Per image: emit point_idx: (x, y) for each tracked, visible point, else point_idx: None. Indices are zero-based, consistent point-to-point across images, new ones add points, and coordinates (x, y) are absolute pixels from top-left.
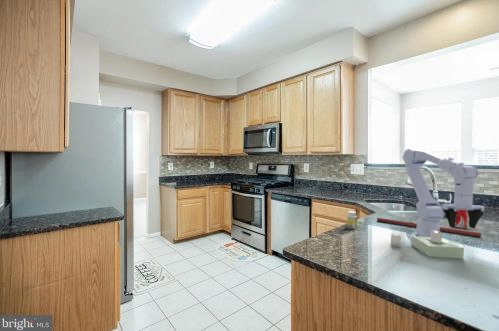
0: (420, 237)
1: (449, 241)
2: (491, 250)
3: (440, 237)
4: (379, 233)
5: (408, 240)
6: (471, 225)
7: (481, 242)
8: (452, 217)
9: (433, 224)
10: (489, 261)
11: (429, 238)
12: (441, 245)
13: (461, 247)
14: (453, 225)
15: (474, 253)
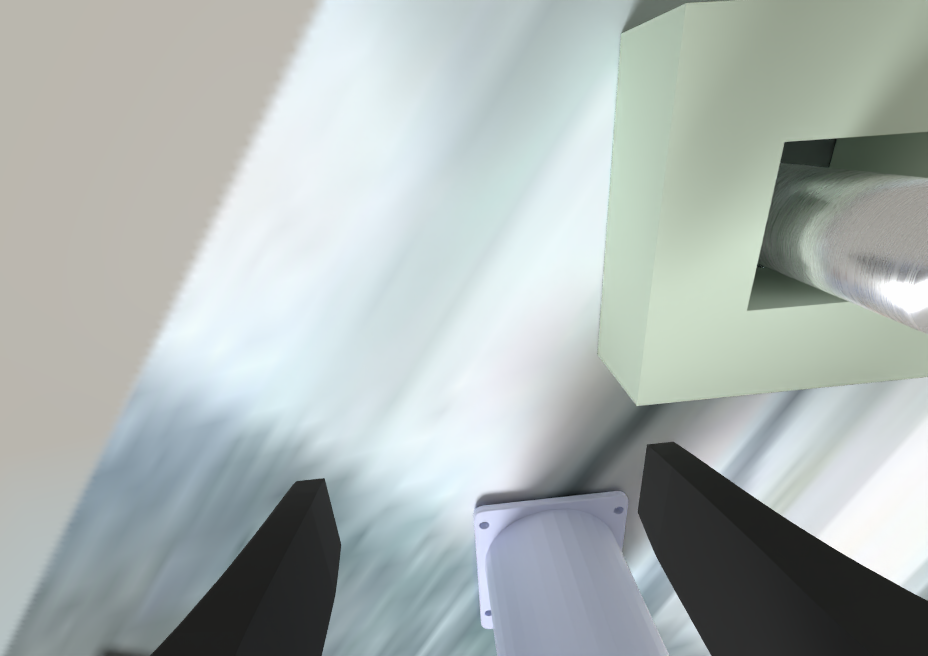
0: (896, 348)
1: (659, 281)
2: (162, 382)
3: (916, 187)
4: (890, 545)
5: (779, 447)
6: (325, 545)
7: (150, 562)
8: (924, 600)
9: (616, 654)
10: (372, 6)
11: (818, 337)
12: (920, 59)
13: (696, 31)
14: (694, 459)
15: (386, 248)
